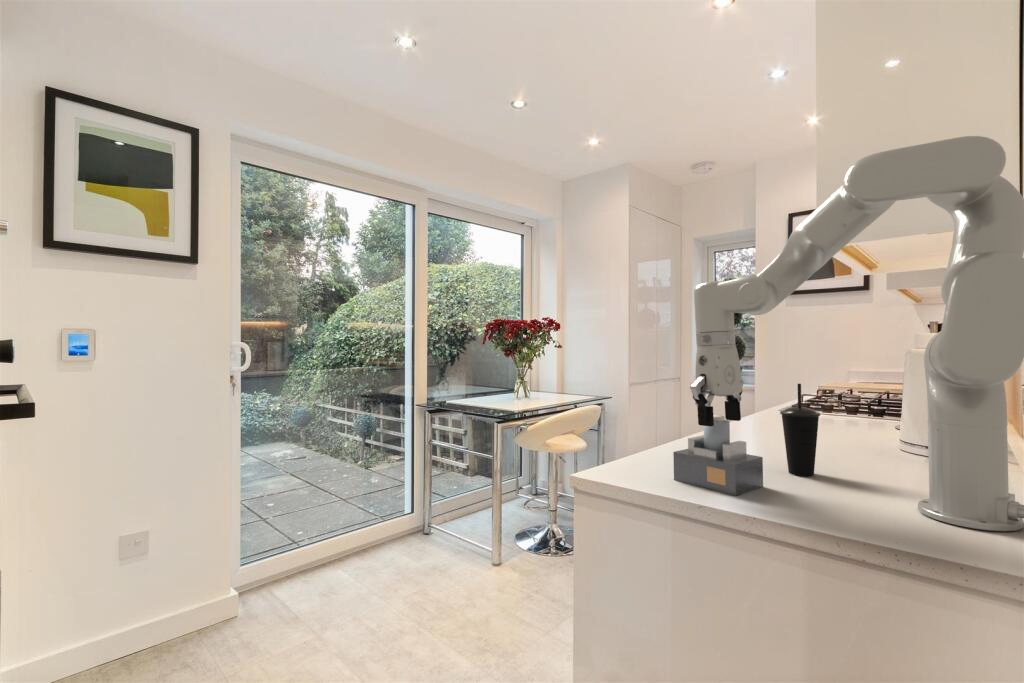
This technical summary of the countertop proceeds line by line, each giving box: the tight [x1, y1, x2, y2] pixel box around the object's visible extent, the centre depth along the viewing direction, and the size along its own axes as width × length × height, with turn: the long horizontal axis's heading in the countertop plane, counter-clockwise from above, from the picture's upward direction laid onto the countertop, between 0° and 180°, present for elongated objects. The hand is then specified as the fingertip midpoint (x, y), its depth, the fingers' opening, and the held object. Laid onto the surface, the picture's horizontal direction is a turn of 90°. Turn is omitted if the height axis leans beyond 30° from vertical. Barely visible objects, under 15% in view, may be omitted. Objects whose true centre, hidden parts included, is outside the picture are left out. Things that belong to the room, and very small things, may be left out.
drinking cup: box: [779, 383, 821, 478], centre depth 107 cm, size 8×8×20 cm
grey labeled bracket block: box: [672, 434, 764, 497], centre depth 101 cm, size 14×10×9 cm
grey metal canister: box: [703, 414, 731, 457], centre depth 101 cm, size 5×5×8 cm
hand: (720, 422), depth 100 cm, fingers open, 9 cm apart
